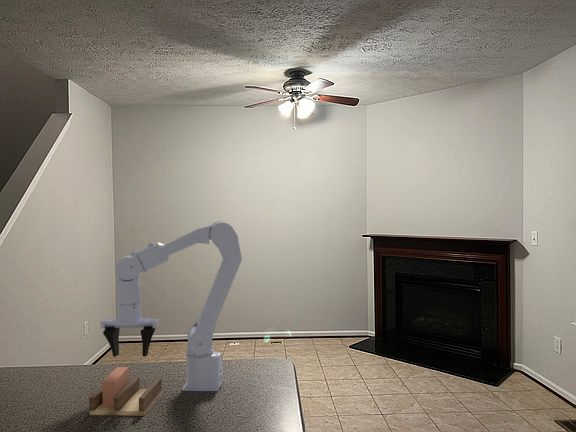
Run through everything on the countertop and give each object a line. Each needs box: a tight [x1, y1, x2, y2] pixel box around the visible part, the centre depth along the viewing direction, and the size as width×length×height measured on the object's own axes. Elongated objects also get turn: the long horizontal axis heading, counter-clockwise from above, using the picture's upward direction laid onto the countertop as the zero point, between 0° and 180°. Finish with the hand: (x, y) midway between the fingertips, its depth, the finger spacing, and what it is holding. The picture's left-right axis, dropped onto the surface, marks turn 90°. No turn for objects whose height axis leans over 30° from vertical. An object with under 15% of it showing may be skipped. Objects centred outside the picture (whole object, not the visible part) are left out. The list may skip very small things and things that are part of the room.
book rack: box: [88, 376, 163, 417], centre depth 118 cm, size 13×13×4 cm
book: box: [101, 366, 130, 407], centre depth 118 cm, size 3×10×6 cm, turn 1°
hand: (130, 355), depth 125 cm, fingers open, 7 cm apart
